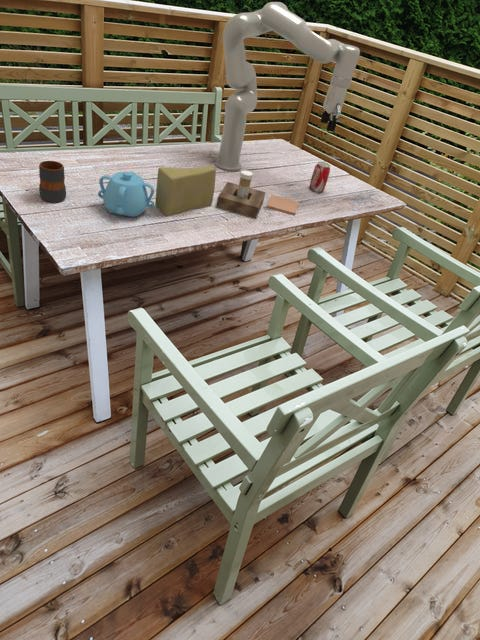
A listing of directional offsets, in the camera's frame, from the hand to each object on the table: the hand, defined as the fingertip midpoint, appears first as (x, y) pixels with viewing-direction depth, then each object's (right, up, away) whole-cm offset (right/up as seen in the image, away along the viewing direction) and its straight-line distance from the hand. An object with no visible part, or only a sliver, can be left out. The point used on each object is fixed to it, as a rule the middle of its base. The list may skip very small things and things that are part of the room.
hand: (327, 126), depth 197 cm
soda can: (-1, -19, +24) cm, 31 cm away
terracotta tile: (-18, -31, +3) cm, 36 cm away
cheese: (-55, -36, -15) cm, 68 cm away
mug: (-101, -35, -28) cm, 111 cm away
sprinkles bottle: (-35, -33, -4) cm, 48 cm away
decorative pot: (-76, -39, -25) cm, 89 cm away
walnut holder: (-35, -33, -4) cm, 48 cm away
